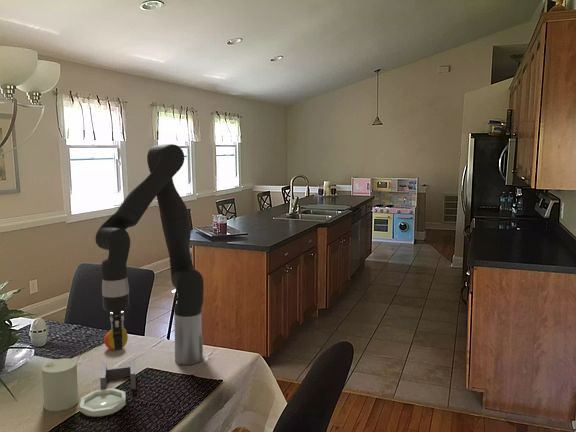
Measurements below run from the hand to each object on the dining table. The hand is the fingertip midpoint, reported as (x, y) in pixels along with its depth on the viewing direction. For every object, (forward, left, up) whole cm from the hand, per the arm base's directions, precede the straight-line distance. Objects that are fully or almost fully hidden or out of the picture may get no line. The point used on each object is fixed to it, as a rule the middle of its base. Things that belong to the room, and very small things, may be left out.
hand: (118, 345), depth 144 cm
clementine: (+2, -31, -14) cm, 34 cm away
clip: (0, -2, -13) cm, 14 cm away
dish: (+4, +10, -13) cm, 17 cm away
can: (+16, +5, -14) cm, 22 cm away
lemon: (0, 0, -2) cm, 2 cm away
